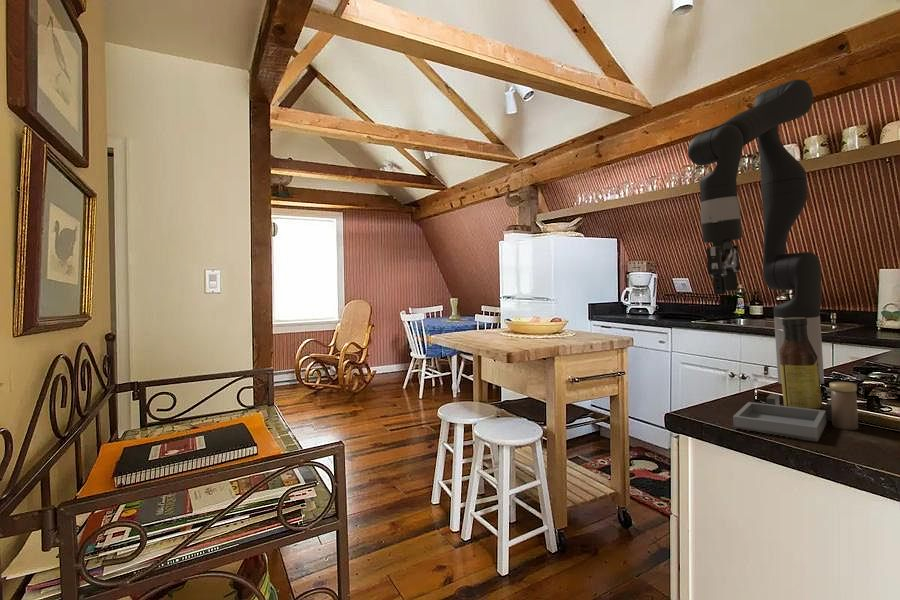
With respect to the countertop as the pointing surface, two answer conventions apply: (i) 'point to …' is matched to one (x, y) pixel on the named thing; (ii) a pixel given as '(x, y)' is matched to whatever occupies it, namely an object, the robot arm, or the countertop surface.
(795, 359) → the sauce bottle
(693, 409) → the countertop surface
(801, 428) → the tray
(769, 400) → the tray
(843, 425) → the lidded beige canister
